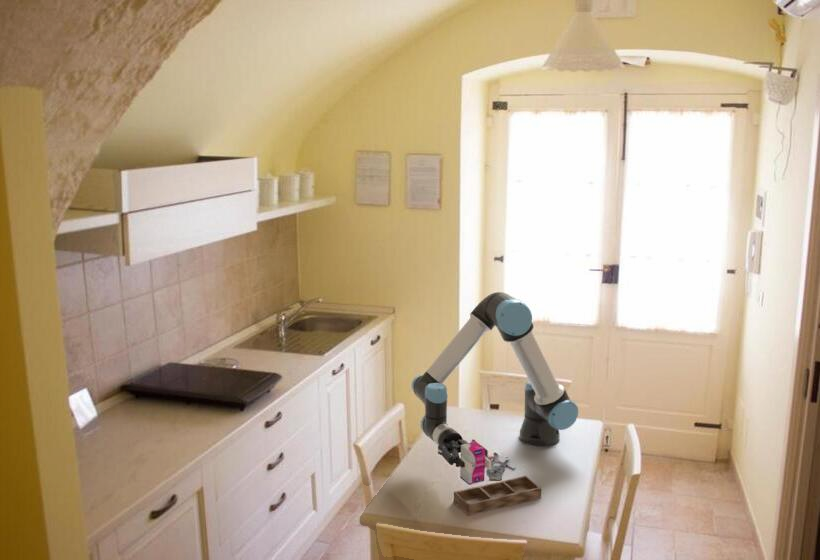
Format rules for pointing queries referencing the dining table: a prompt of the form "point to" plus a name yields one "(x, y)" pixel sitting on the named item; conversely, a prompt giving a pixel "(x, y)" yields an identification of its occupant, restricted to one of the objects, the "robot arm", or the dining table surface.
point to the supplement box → (473, 462)
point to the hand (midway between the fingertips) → (480, 467)
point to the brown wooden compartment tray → (497, 495)
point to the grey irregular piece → (496, 469)
